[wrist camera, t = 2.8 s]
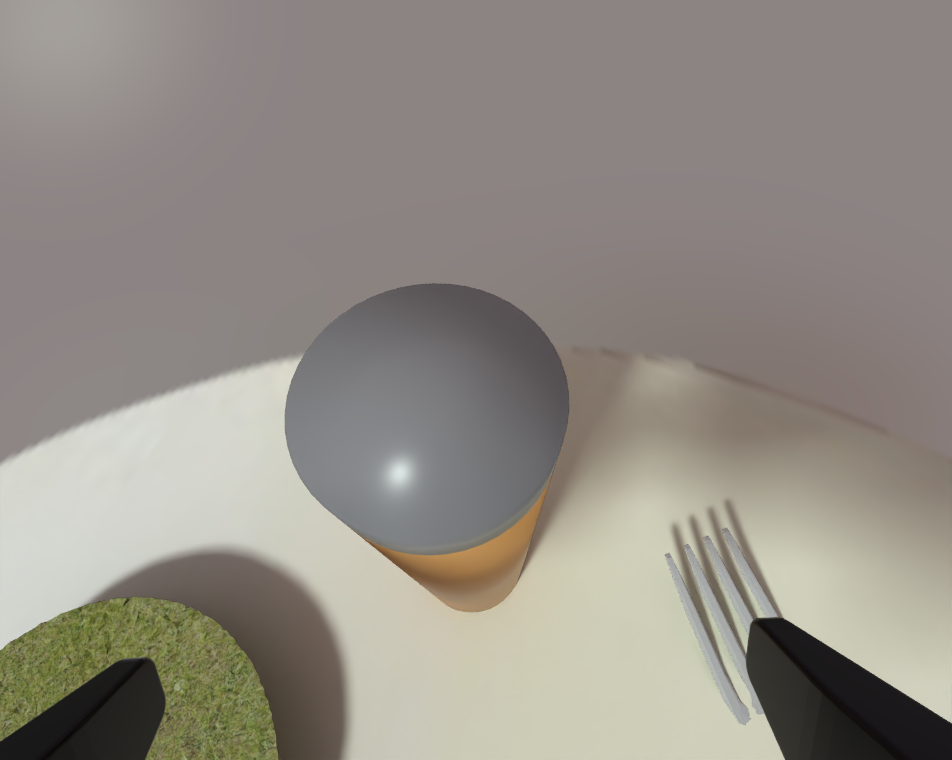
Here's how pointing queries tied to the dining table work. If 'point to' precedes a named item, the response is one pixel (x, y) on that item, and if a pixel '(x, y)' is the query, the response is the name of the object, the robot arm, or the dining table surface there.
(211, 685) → the olive green flat disc
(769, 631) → the robot arm
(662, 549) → the dining table surface
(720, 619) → the fork
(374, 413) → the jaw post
